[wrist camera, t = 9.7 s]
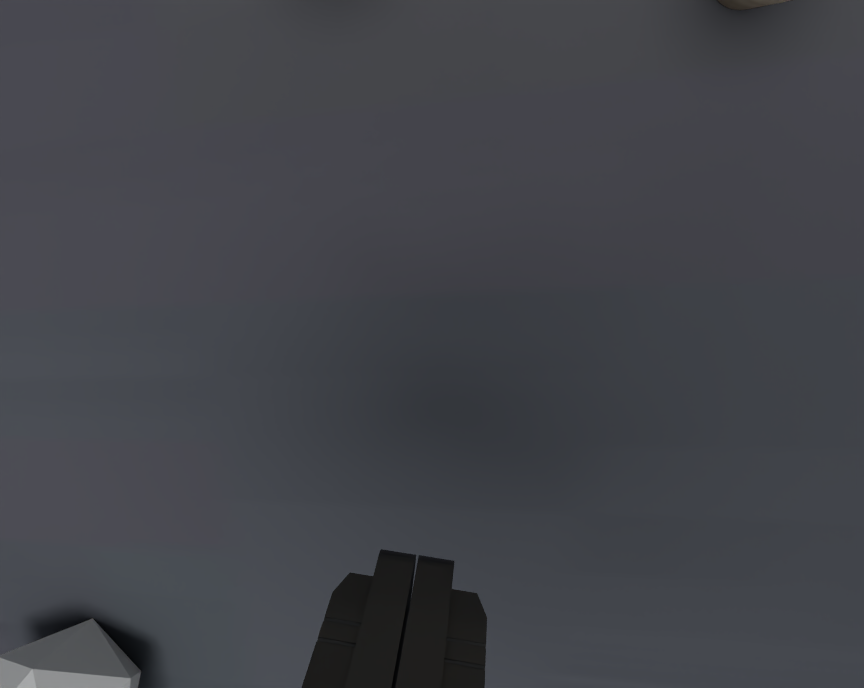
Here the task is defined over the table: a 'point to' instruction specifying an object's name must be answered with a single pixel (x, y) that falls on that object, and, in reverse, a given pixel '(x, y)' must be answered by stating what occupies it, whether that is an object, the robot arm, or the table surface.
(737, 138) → the table surface
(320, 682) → the robot arm
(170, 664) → the table surface
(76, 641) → the die
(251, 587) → the table surface
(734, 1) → the post
